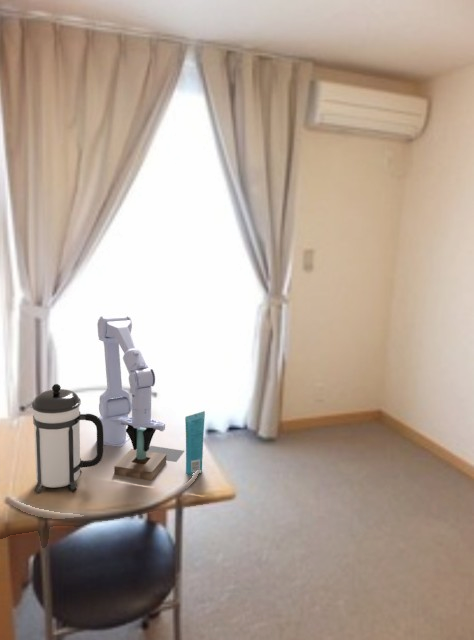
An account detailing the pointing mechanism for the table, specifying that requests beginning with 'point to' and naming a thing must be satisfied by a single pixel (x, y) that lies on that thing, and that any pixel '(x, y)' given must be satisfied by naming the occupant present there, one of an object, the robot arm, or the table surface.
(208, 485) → the table surface
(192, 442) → the teal shampoo bottle
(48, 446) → the coffee press
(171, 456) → the mat
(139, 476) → the hole block
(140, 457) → the peg
